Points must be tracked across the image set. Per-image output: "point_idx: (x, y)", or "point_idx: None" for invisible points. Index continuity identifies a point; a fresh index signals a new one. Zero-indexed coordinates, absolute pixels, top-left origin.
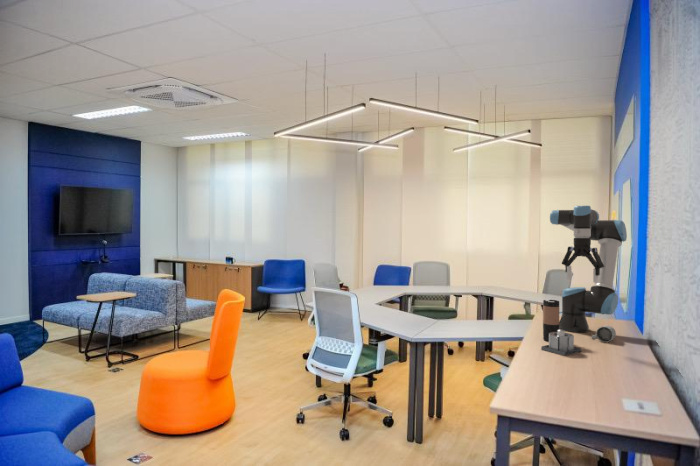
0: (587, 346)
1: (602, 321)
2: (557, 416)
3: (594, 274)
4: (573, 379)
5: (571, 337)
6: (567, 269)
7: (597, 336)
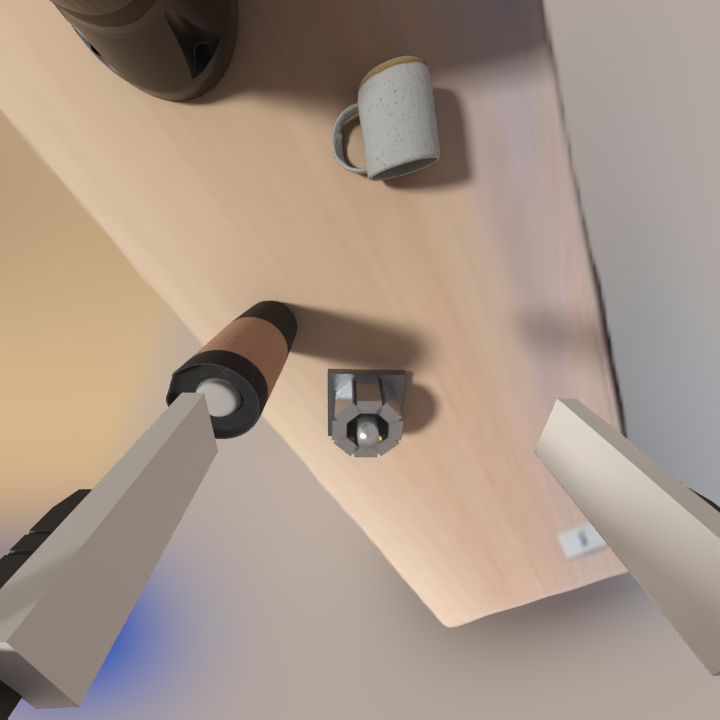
0: (388, 297)
1: None
2: (509, 608)
3: (628, 546)
4: (476, 525)
5: (402, 428)
6: (116, 608)
7: (373, 176)
